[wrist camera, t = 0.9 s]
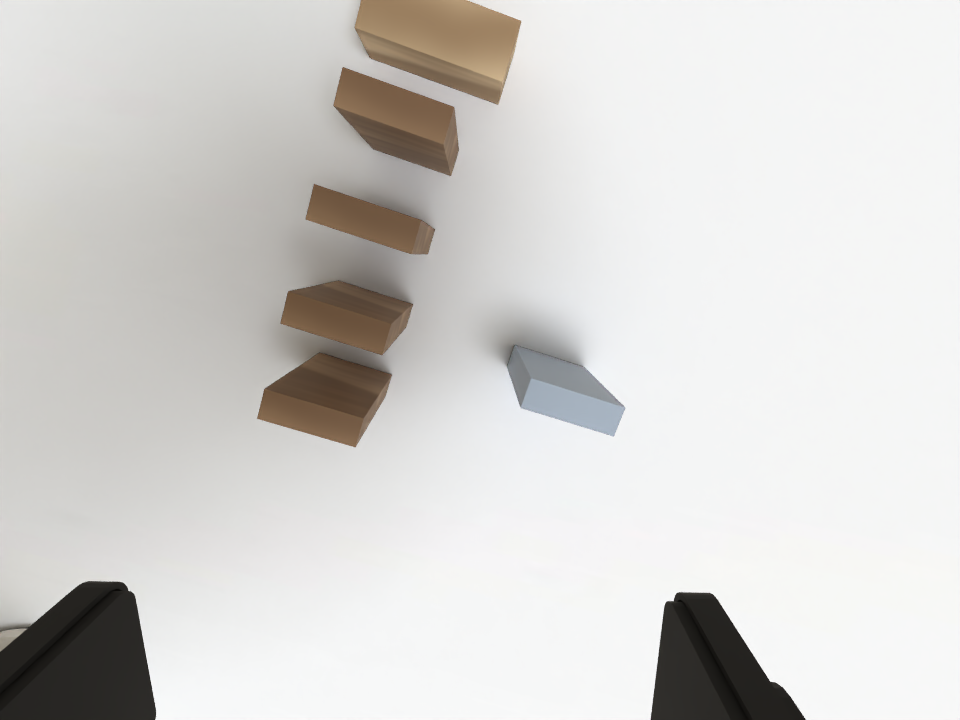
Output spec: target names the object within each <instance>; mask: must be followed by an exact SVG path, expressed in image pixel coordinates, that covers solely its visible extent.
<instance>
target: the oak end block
mask: <svg viewBox="0 0 960 720" xmlns="http://www.w3.org/2000/svg"><path fill="white" fill-rule="evenodd" d="M520 24H521V21H520V20H517V19H515V18H512V17H509V16H507V15H504V14H501V13H499V12H496V11H493V10H491V9H488V8H486V7H483V6H480V5H478V4H475V3H472V2H470V1H467V0H361V4H360V8H359V12H358V16H357V20H356V24H355V29H356V31H357V33H358V35H359V37H360V39H361V41H362V43H363V45H364V47H365V49H366V51H367V53H368V55H369V57H370V58H371V59H374V60H377V61H379V62H382V63H385V64H388V65H390V66H393V67H396V68H399V69H402V70H404V71H407V72H410V73H413V74H415V75H418V76H421V77H424V78H426V79H429V80H432V81H435V82H437V83H440V84H443V85H446V86H448V87H451V88H454V89H457V90H460V91H462V92H465V93H468V94H471V95H473V96H476V97H479V98H482V99H484V100H487V101H490V102H493V103H495V104H499V100H500V97H501V94H502V91H503V87H504V84H505V81H506V78H507V74H508V71H509V68H510V65H511V61H512V58H513V55H514V51H515V47H516V42H517V38H518V33H519V29H520Z"/></svg>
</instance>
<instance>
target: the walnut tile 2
mask: <svg viewBox="0 0 960 720" xmlns="http://www.w3.org/2000/svg"><path fill="white" fill-rule="evenodd" d="M412 306H413V304H410V303H407V302H404V301H401V300H398V299H395V298H391V297H388V296H385V295H382V294H379V293H376V292H373V291H370V290H366V289H363V288H360V287H357V286H354V285H351V284H348V283H345V282H341V281H334V282H330V283H325V284H320V285H316V286H311V287H306V288H301V289H297V290H292V291H288V294H287V298H286V302H285V307H284V311H283V315H282V319H281V323H280V324H283V325H287V326H290V327H293V328H296V329H300V330H303V331H306V332H309V333H312V334H316V335H319V336H322V337H325V338H329V339H332V340H335V341H338V342H342V343H345V344H348V345H351V346H354V347H358V348H361V349H364V350H367V351H371V352H374V353H377V354H380V355H383V354H384V353H385V351H386V350H387V349H388V348H389V347H390V346H391V344H392V343H393V342H394V341H395V340H396V339H397V337H398V336H399V335H400V334H401V333H402V332H403V330H404V329H405V328H406V326H407V323H408V319H409V316H410V312H411V309H412Z"/></svg>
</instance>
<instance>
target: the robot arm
mask: <svg viewBox="0 0 960 720" xmlns="http://www.w3.org/2000/svg"><path fill="white" fill-rule="evenodd" d="M155 718H156V708H155V703H154V697H153V692H152V686H151V681H150V675H149V670H148V664H147V659H146V653H145V648H144V642H143V637H142V631H141V626H140V621H139V615H138V610H137V604H136V599H135V596H134V594H133V593H132V592H130V591H128V588H127V586H126V585H125V584H124V583H122V582H100V581H88V582H84V583H82V584H80V585H79V586H77V587H76V588H75V589H73V590H72V591H71V592H70V593H69V594H68V595H66V596H65V597H64V598H63V599H62V600H60V601H59V602H58V603H57V604H56V605H55V606H53V607H52V608H51V609H50V610H49V611H48V612H46V613H45V614H44V615H43V616H42V617H40V618H39V619H38V620H37V621H36V622H35V623H33V624H32V625H31V626H30V627H29V628H27V629H24V628H23V629H12V630H5V631H2V632H0V720H155ZM651 720H806V719H805V718H804V716H803V715H802V713H801V712H800V710H799V709H798V707H797V706H796V704H795V703H794V701H793V700H792V698H791V697H790V696H789V695H788V693H787V692H786V691H785V690H784V688H783V687H781V686H780V685H778V684H777V683H776V682H770V681H769V679H768V678H767V676H766V674H765V673H764V671H763V670H762V668H761V667H760V665H759V664H758V662H757V660H756V659H755V657H754V656H753V654H752V653H751V651H750V650H749V648H748V647H747V645H746V643H745V642H744V640H743V639H742V637H741V636H740V634H739V633H738V631H737V629H736V628H735V626H734V625H733V623H732V622H731V620H730V619H729V617H728V615H727V614H726V612H725V611H724V609H723V608H722V606H721V605H720V603H719V601H718V600H717V599H716V597H715V596H714V595H713V594H711V593H683V592H679V593H677V594H676V595H675V598H674V601H668V602H666V604H665V607H664V614H663V623H662V631H661V639H660V647H659V656H658V664H657V672H656V680H655V689H654V697H653V705H652V713H651Z"/></svg>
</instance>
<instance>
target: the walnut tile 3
mask: <svg viewBox="0 0 960 720" xmlns="http://www.w3.org/2000/svg"><path fill="white" fill-rule="evenodd" d="M306 220H309V221H312V222H315V223H318V224H321V225H324V226H327V227H330V228H333V229H336V230H339V231H343V232H346V233H349V234H352V235H355V236H358V237H361V238H364V239H367V240H370V241H373V242H376V243H379V244H382V245H385V246H388V247H391V248H394V249H397V250H400V251H403V252H406V253H409V254H428V252H429V248H430V245H431V241H432V238H433V235H434V231H435V229H433V228H432V227H431V226H429V225H428V224H426V223H425V222H423V221H422V220H419V219H416V218H413V217H410V216H408V215H405V214H402V213H399V212H396V211H393V210H390V209H387V208H384V207H381V206H378V205H375V204H372V203H369V202H366V201H363V200H360V199H357V198H354V197H351V196H348V195H345V194H342V193H339V192H336V191H333V190H330V189H327V188H324V187H321V186H318V185H315V184H314V187H313V191H312V195H311V199H310V203H309V207H308V211H307V215H306Z"/></svg>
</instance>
